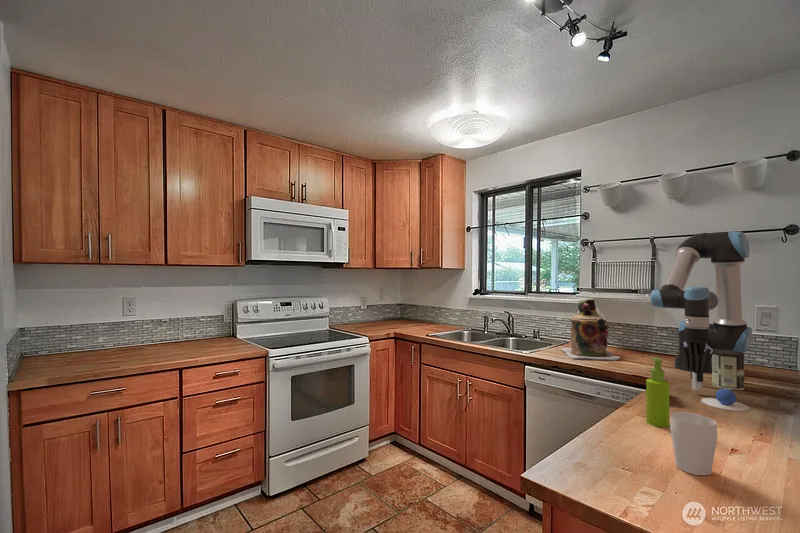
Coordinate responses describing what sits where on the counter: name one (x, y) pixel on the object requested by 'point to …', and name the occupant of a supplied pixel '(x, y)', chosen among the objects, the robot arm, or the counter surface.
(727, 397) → the ball
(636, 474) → the counter surface
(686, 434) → the cup
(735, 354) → the coffee can
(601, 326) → the cookie jar
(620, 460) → the counter surface
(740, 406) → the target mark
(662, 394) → the soap dispenser
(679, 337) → the robot arm
